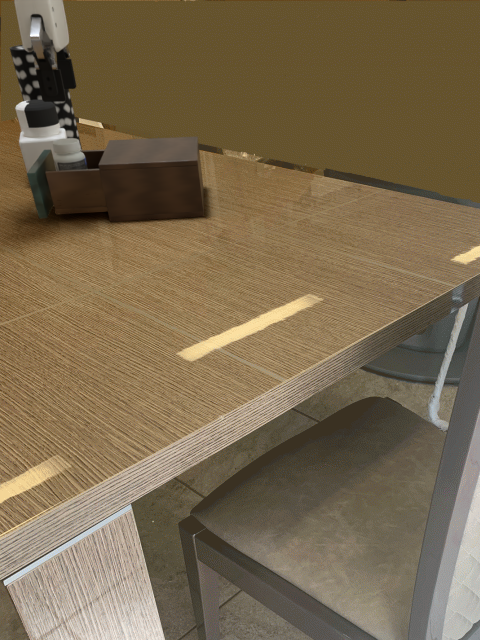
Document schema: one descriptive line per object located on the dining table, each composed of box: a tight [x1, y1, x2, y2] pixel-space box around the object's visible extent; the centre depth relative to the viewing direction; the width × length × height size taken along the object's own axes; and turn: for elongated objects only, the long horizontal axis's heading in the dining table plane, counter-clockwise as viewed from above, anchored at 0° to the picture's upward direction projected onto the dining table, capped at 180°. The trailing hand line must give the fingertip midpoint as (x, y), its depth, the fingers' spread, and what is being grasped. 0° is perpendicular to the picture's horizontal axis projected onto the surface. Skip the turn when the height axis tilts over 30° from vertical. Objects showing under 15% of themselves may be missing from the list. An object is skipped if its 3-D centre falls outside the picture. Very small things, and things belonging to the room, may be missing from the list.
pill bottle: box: [52, 138, 88, 171], centre depth 102 cm, size 5×5×8 cm
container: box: [14, 100, 67, 174], centre depth 114 cm, size 8×8×13 cm
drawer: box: [26, 148, 108, 219], centre depth 103 cm, size 15×13×7 cm
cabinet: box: [98, 136, 205, 223], centre depth 104 cm, size 15×15×9 cm
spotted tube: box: [9, 44, 83, 151], centre depth 120 cm, size 8×8×20 cm
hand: (60, 94), depth 95 cm, fingers open, 9 cm apart
